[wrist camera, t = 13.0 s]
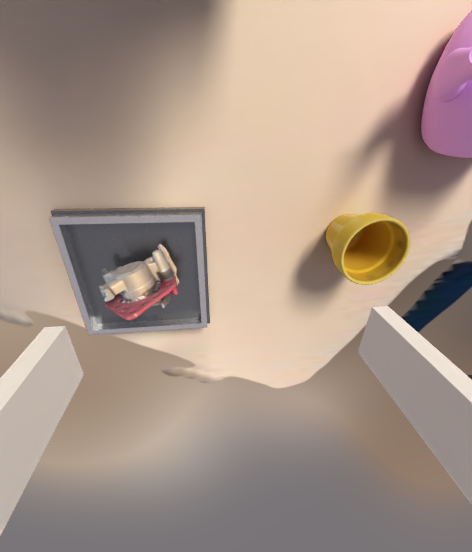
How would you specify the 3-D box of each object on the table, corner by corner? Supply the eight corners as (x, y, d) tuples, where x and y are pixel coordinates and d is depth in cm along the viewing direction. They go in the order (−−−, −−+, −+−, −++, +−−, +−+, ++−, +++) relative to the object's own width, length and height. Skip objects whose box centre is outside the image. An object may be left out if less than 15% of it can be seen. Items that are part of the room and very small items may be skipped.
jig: (54, 209, 37) (43, 214, 34) (204, 207, 39) (204, 211, 37) (92, 326, 47) (86, 337, 45) (209, 319, 50) (210, 329, 47)
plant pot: (302, 244, 44) (326, 267, 36) (340, 191, 41) (377, 203, 32) (344, 268, 48) (375, 295, 39) (382, 221, 44) (426, 239, 35)
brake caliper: (130, 326, 44) (85, 331, 32) (117, 267, 45) (70, 251, 34) (192, 308, 44) (170, 307, 32) (177, 250, 45) (151, 228, 33)
